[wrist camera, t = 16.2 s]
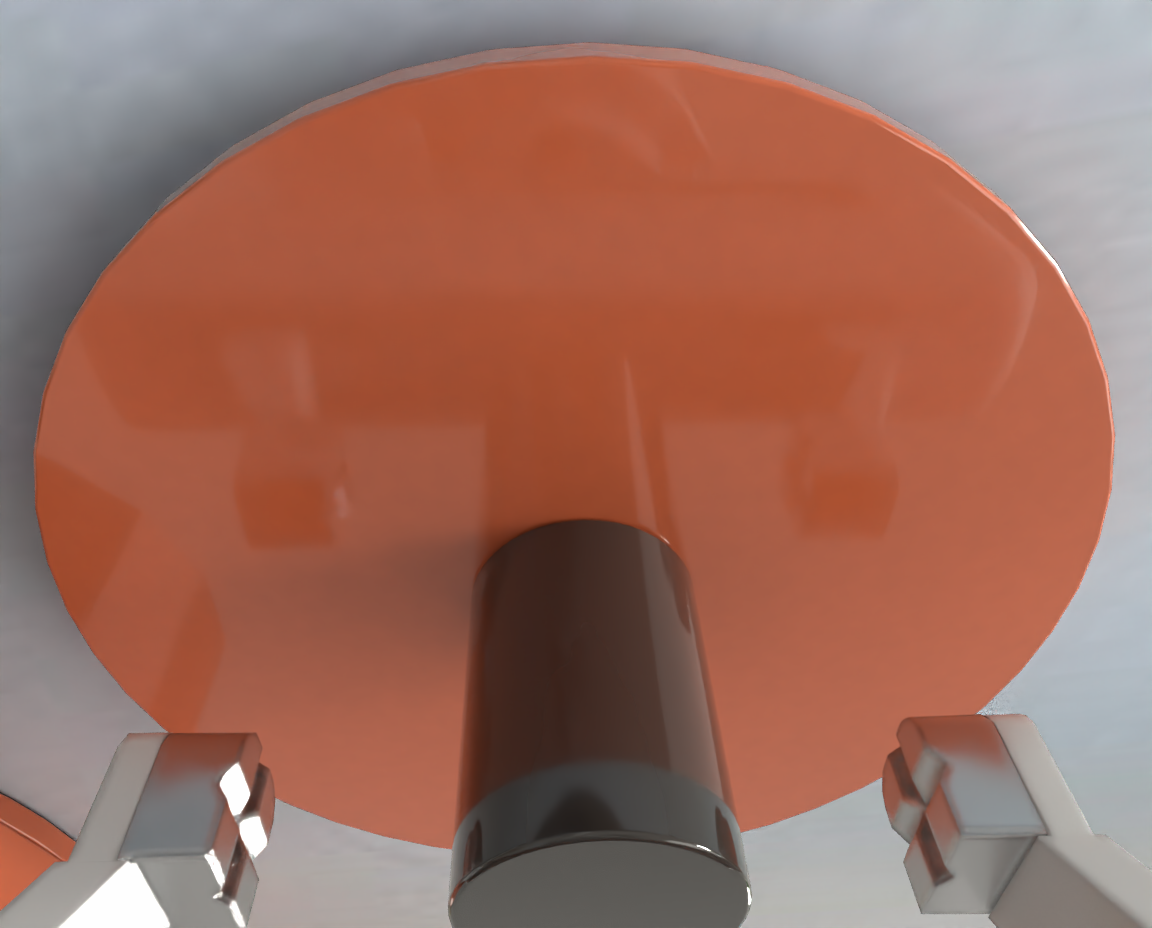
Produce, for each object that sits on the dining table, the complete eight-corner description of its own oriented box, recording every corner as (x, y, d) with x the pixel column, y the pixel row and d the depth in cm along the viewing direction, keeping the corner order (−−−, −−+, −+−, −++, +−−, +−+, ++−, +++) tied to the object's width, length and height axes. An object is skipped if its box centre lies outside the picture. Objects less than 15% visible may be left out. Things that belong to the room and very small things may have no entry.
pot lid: (215, 812, 18) (110, 1157, 14) (-141, 26, 9) (-808, 290, 5) (926, 792, 19) (1050, 1117, 14) (1274, 25, 9) (1935, 263, 5)
